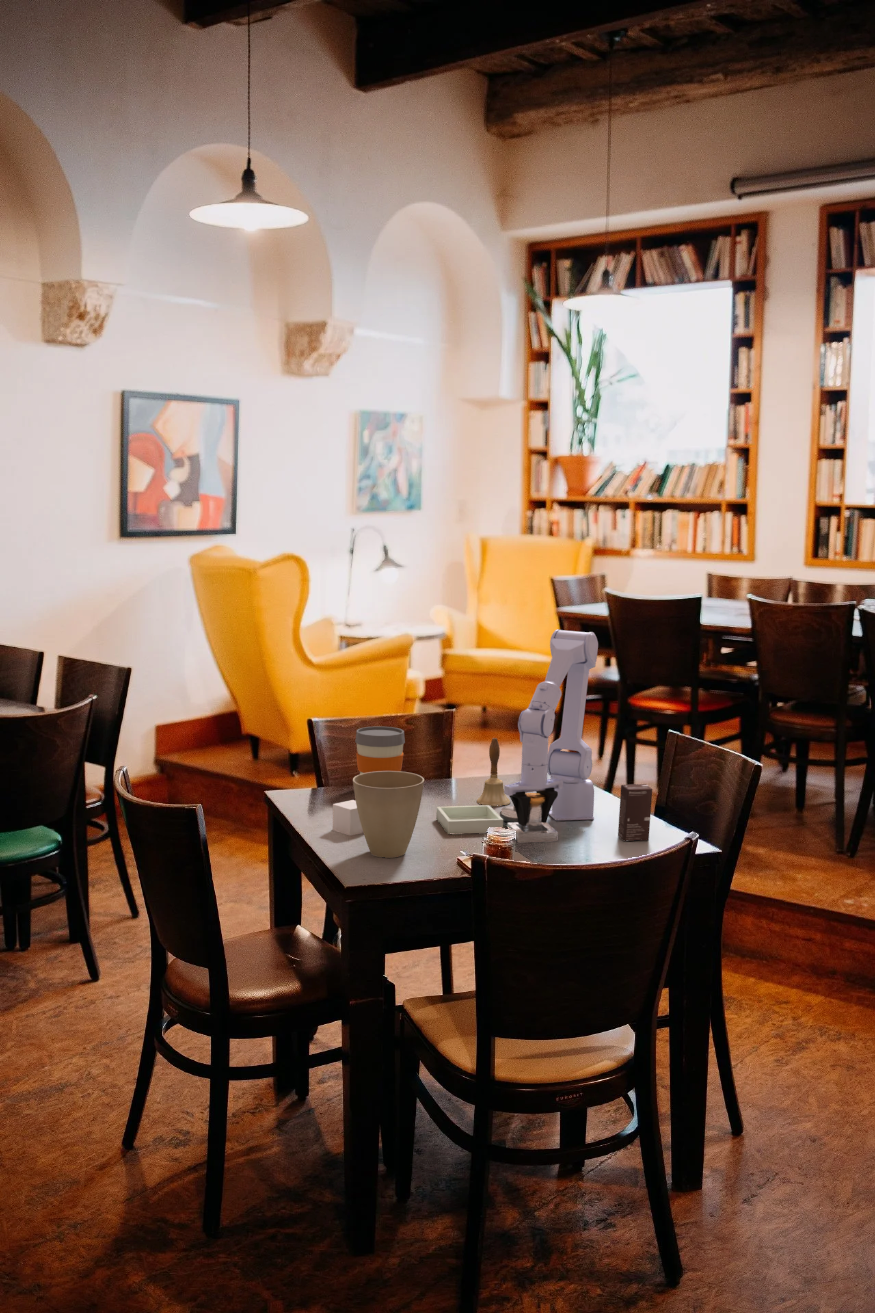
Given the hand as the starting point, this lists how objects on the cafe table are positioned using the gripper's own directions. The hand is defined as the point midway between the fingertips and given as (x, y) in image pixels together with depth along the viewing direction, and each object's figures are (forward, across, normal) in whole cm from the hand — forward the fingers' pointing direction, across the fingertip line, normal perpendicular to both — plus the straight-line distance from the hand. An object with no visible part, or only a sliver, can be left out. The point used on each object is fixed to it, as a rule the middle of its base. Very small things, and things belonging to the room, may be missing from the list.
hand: (532, 823), depth 272 cm
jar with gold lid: (+3, 0, 0) cm, 3 cm away
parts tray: (+3, +8, -13) cm, 16 cm away
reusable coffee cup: (+3, +10, -53) cm, 54 cm away
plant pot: (+3, +35, -4) cm, 35 cm away
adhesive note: (+3, +34, -22) cm, 40 cm away
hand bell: (+3, -9, -29) cm, 30 cm away
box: (+3, -19, +12) cm, 23 cm away
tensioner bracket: (+3, -2, -5) cm, 6 cm away
